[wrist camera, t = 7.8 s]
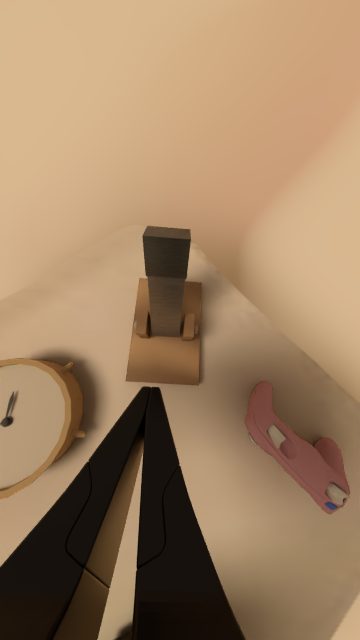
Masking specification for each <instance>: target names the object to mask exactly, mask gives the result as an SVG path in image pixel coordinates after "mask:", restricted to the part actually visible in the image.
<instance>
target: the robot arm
mask: <svg viewBox="0 0 360 640" xmlns="http://www.w3.org/2000/svg"><path fill="white" fill-rule="evenodd" d="M142 453H143V466H142V483H141V500H140V516H139V533H138V550H137V571H136V583H135V598H134V612H133V624H132V632H130V633H129V634H127V635H126V636H124V637H122V638H121V639H119V640H246V639H245V637H244V635H243V633H242V631H241V629H240V626H239V624H238V622H237V620H236V618H235V616H234V613H233V611H232V609H231V607H230V604H229V602H228V600H227V597H226V595H225V593H224V590H223V588H222V585H221V583H220V580H219V577H218V575H217V572H216V570H215V567H214V564H213V562H212V559H211V556H210V553H209V551H208V548H207V545H206V543H205V540H204V537H203V535H202V532H201V529H200V527H199V524H198V521H197V518H196V516H195V513H194V510H193V507H192V504H191V501H190V498H189V495H188V492H187V488H186V485H185V482H184V478H183V474H182V470H181V467H180V466H179V464H180V463H179V459H178V456H177V452H176V448H175V444H174V440H173V436H172V433H171V429H170V425H169V421H168V417H167V413H166V410H165V406H164V402H163V398H162V394H161V390H160V388H159V387H152V388H151V387H145V386H144V387H142V388H141V389H140V391H139V392H138V393H137V395H136V396H135V398H134V399H133V400H132V402H131V403H130V404H129V406H128V407H127V408H126V410H125V411H124V412H123V414H122V415H121V417H120V418H119V419H118V421H117V422H116V423H115V425H114V426H113V427H112V429H111V430H110V431H109V433H108V434H107V436H106V437H105V438H104V440H103V441H102V442H101V444H100V445H99V446H98V448H97V449H96V451H95V452H94V453H93V455H92V456H91V457H90V459H89V462H87V463H86V464H85V465H84V467H83V468H82V469H81V471H80V472H79V473H78V475H77V476H76V477H75V479H74V480H73V481H72V483H71V484H70V485H69V486H68V488H67V489H66V490H65V492H64V493H63V494H62V495H61V496H60V498H59V499H58V500H57V501H56V502H55V504H54V505H53V506H52V507H51V508H50V510H49V511H48V512H47V513H46V514H45V516H44V517H43V518H42V519H41V520H40V521H39V523H38V524H37V525H36V526H35V527H34V528H33V529H32V531H31V532H30V533H29V534H28V535H27V536H26V538H25V539H24V540H23V541H22V542H21V543H20V545H19V546H18V547H17V548H16V549H15V550H14V552H13V553H12V554H11V555H10V556H9V557H8V559H7V560H6V561H5V562H4V563H3V564H2V566H1V567H0V640H97V639H98V635H99V631H100V626H101V622H102V618H103V614H104V610H105V606H106V602H107V598H108V593H109V588H110V585H111V581H112V577H113V573H114V568H115V564H116V560H117V556H118V552H119V548H120V544H121V540H122V535H123V531H124V527H125V523H126V519H127V515H128V511H129V506H130V502H131V498H132V494H133V490H134V486H135V482H136V478H137V473H138V469H139V465H140V461H141V457H142Z"/></svg>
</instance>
